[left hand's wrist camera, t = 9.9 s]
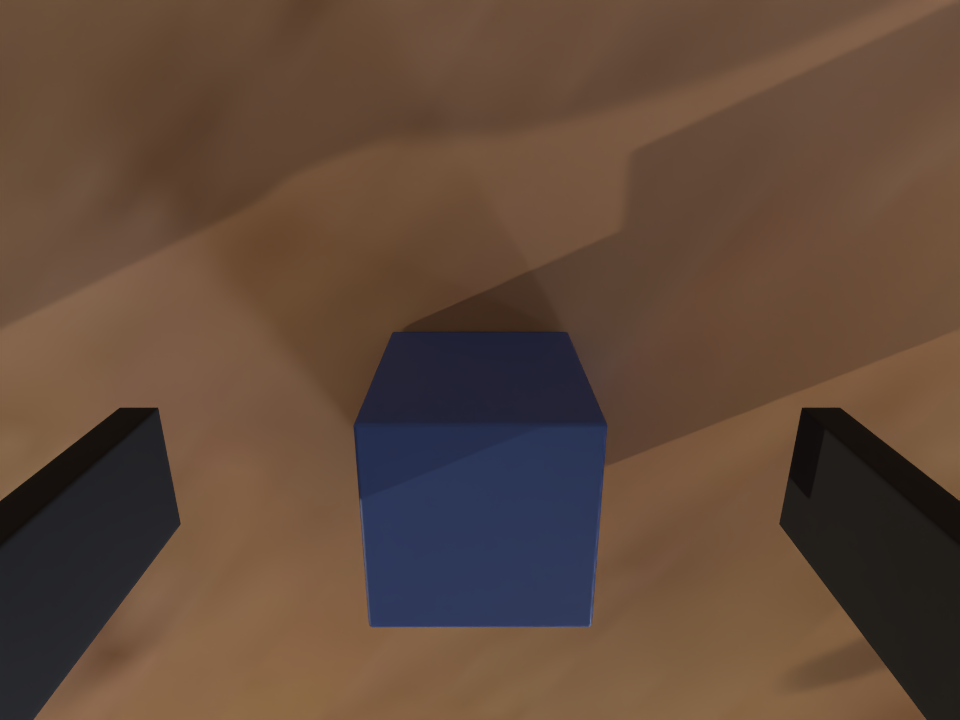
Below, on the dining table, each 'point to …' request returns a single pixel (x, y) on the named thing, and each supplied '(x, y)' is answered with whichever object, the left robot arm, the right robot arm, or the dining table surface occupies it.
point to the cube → (480, 482)
